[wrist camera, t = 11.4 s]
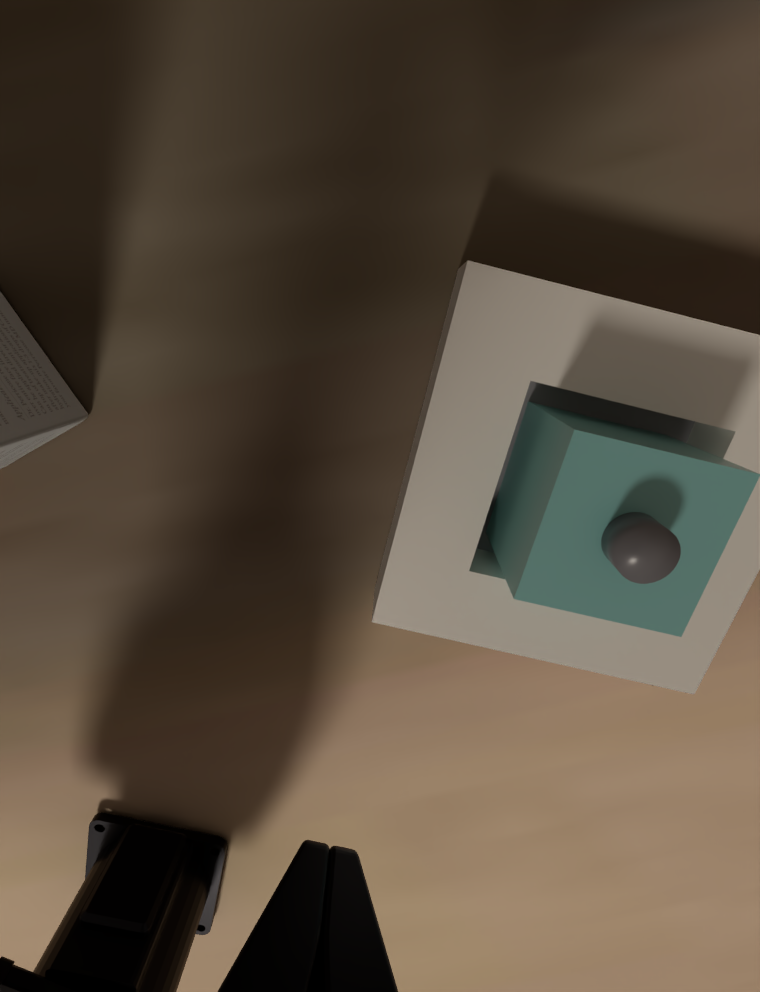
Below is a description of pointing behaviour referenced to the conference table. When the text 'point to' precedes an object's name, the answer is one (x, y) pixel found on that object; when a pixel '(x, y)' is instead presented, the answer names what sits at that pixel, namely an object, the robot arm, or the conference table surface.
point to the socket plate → (491, 437)
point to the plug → (613, 519)
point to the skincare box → (30, 392)
